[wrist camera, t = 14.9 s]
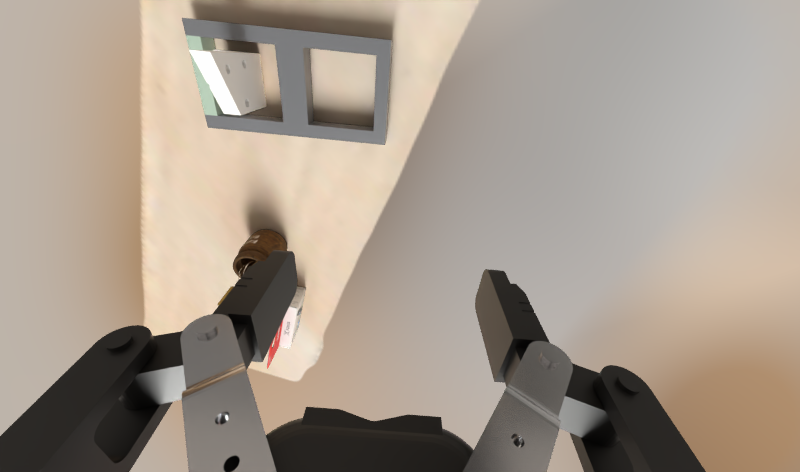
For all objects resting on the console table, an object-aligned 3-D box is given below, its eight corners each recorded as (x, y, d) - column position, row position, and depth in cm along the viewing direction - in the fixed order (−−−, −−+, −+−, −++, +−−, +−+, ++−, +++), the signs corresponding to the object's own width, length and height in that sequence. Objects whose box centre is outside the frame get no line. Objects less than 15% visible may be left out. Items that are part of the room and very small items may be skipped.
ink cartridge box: (306, 287, 53) (287, 330, 45) (299, 327, 58) (280, 372, 50) (293, 284, 53) (271, 326, 44) (286, 324, 58) (266, 369, 50)
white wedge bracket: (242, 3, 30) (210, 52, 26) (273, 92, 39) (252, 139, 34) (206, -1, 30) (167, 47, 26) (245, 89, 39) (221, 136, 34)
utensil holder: (295, 241, 48) (263, 292, 38) (276, 265, 50) (243, 318, 40) (261, 221, 46) (219, 267, 36) (244, 246, 48) (200, 296, 38)
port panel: (196, 20, 33) (181, 17, 31) (392, 41, 33) (391, 40, 31) (219, 123, 38) (207, 127, 36) (386, 140, 39) (384, 144, 37)
